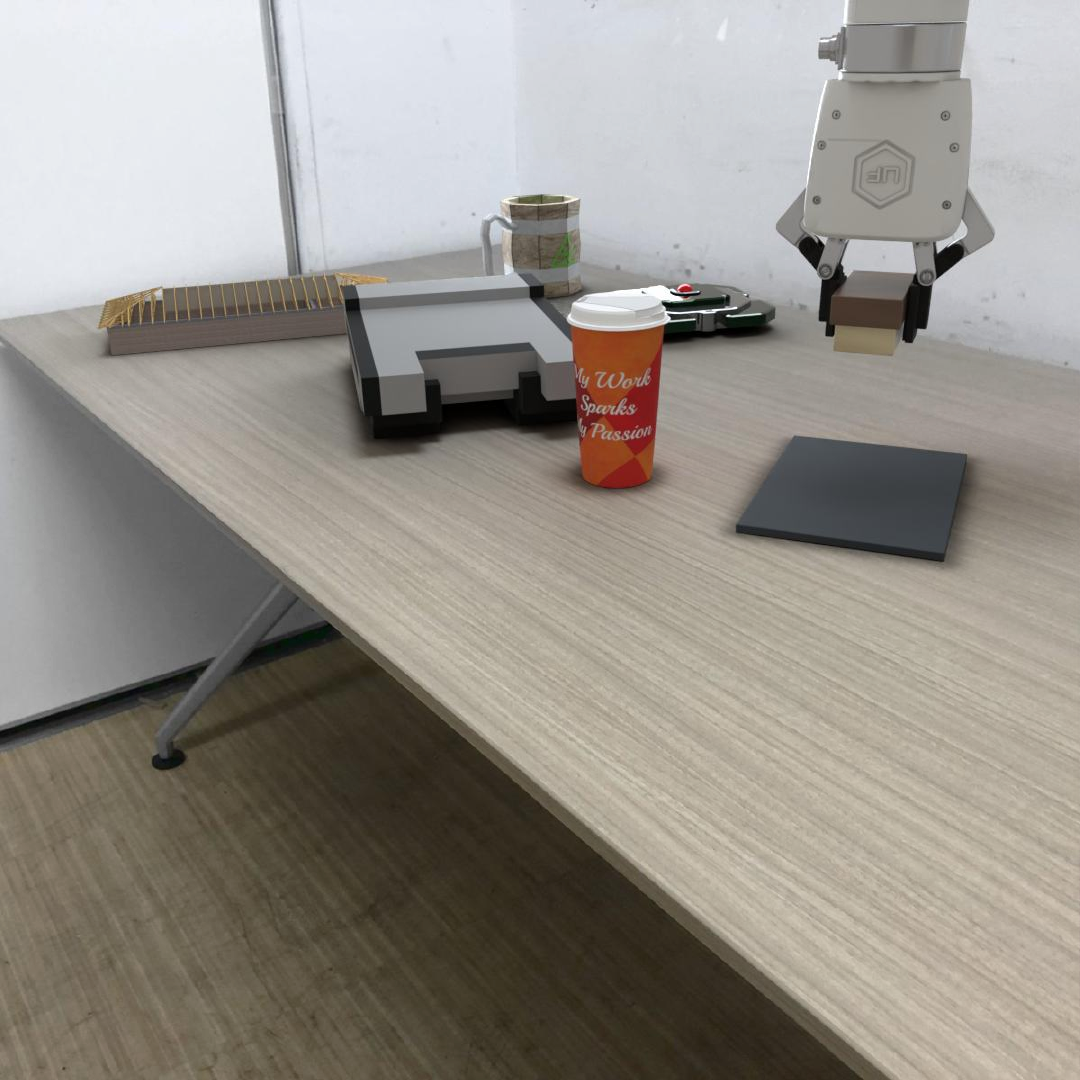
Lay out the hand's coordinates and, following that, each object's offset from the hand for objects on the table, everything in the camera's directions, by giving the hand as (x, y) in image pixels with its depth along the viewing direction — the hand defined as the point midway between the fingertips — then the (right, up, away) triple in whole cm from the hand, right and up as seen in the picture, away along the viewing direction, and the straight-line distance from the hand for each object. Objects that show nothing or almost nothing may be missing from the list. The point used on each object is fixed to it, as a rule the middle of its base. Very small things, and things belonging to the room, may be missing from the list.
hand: (871, 332), depth 79 cm
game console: (-31, 0, +31) cm, 44 cm away
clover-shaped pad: (-6, +11, +56) cm, 57 cm away
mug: (-25, +19, +73) cm, 80 cm away
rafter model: (-58, +11, +58) cm, 83 cm away
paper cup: (-17, -10, +10) cm, 22 cm away
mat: (+1, -11, +5) cm, 12 cm away
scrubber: (0, -1, 0) cm, 1 cm away
